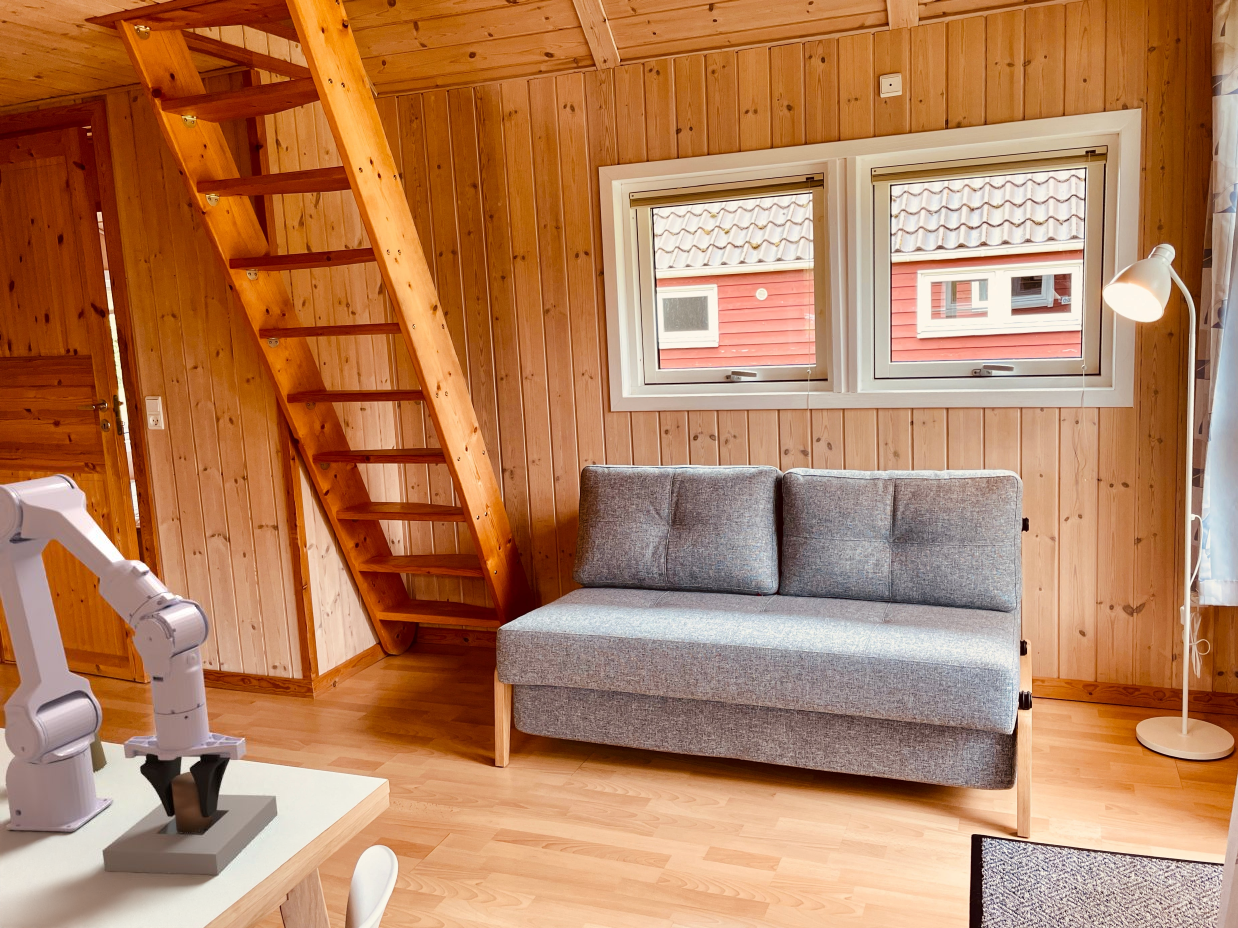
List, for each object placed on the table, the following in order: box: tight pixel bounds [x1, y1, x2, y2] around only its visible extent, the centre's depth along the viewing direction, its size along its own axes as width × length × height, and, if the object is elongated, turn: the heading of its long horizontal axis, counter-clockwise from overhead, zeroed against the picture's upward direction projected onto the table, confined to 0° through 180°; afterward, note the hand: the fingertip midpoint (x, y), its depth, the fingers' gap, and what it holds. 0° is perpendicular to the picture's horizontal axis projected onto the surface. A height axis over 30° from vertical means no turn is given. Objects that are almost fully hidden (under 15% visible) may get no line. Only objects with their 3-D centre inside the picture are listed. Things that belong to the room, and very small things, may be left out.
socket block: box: [102, 794, 278, 876], centre depth 119 cm, size 14×14×2 cm
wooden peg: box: [171, 771, 212, 835], centre depth 119 cm, size 4×4×6 cm
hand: (192, 813), depth 119 cm, fingers closed on wooden peg, 4 cm apart
